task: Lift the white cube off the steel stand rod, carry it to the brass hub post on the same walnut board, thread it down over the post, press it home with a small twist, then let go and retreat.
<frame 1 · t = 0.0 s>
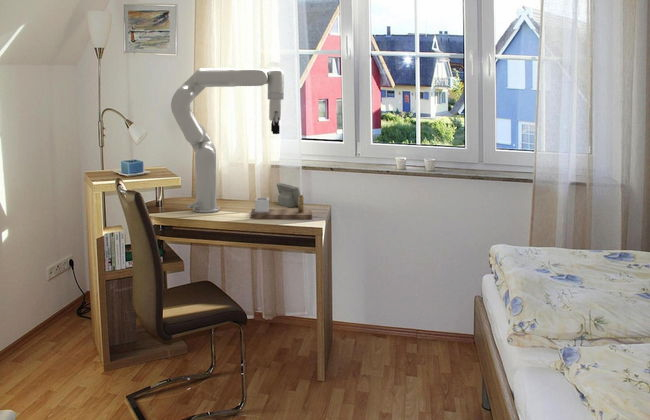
hand: (275, 132, 354), 37 cm above the table, tool pointing down, fingers open, 9 cm apart
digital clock: (289, 205, 374), on the table
white cube: (262, 211, 348), point 2 cm above the table, touching board
board: (281, 215, 349), on the table
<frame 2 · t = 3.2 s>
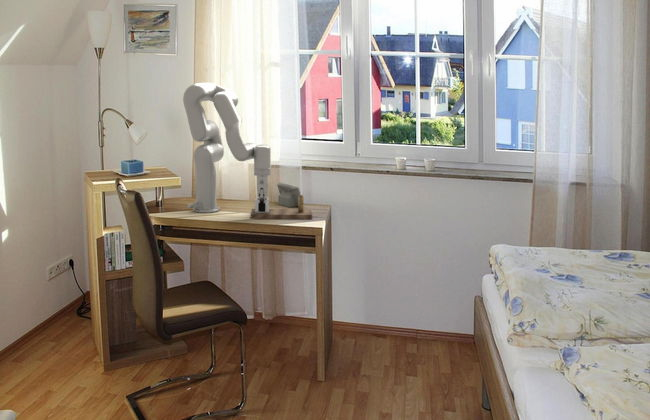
hand: (262, 209, 348), 3 cm above the table, tool pointing down, fingers closed on white cube, 6 cm apart
white cube: (262, 211, 348), point 2 cm above the table, touching board, gripper
everything else where it was.
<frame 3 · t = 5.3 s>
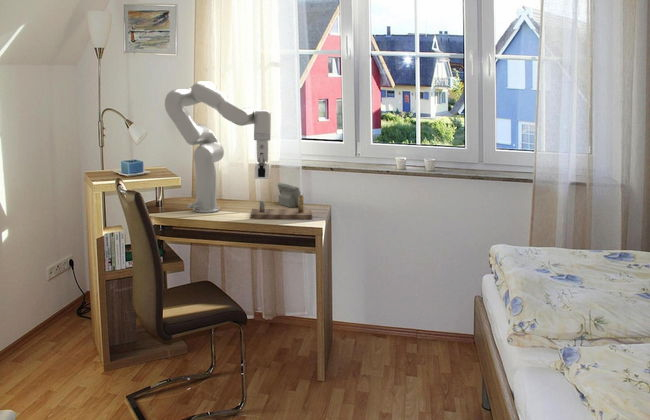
hand: (261, 175, 345), 19 cm above the table, tool pointing down, fingers closed on white cube, 6 cm apart
white cube: (261, 177, 345), point 18 cm above the table, touching gripper
everything else where it was.
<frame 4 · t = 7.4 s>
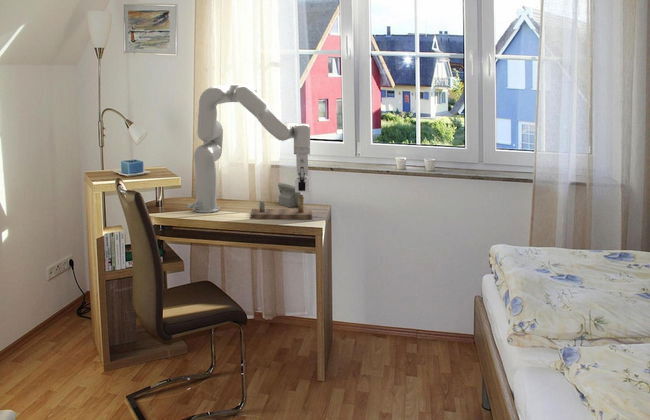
hand: (301, 188, 347), 13 cm above the table, tool pointing down, fingers closed on white cube, 6 cm apart
white cube: (301, 191, 347), point 12 cm above the table, touching gripper
everything else where it was.
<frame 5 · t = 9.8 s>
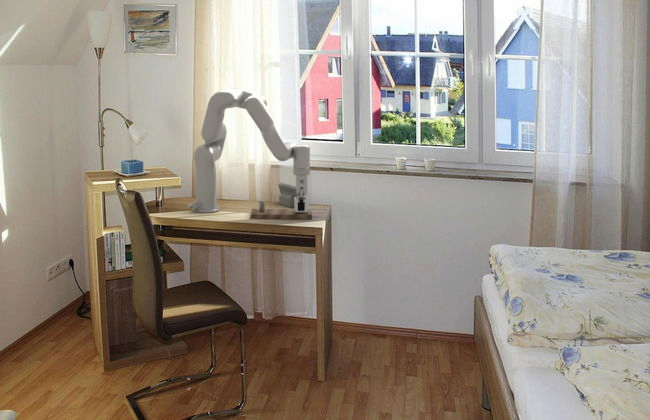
hand: (301, 208, 349), 4 cm above the table, tool pointing down, fingers closed on white cube, 6 cm apart
white cube: (301, 210, 349), point 3 cm above the table, touching gripper
everything else where it was.
when the fingers open (3 cm above the table, at t = 11.6 s): white cube stays where it is, resting on board.
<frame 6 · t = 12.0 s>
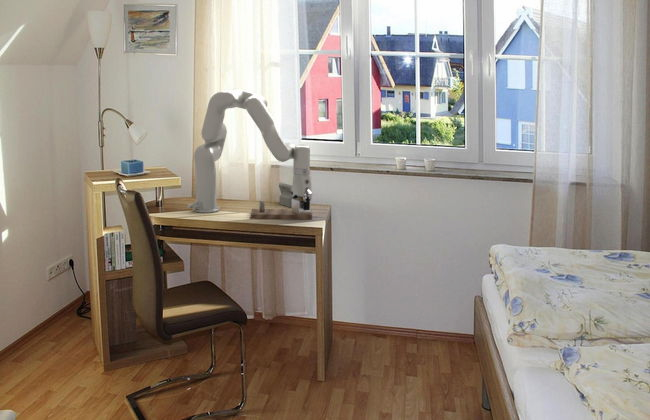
hand: (300, 208, 349), 4 cm above the table, tool pointing down, fingers open, 9 cm apart
white cube: (300, 211, 349), point 2 cm above the table, touching board
everything else where it was.
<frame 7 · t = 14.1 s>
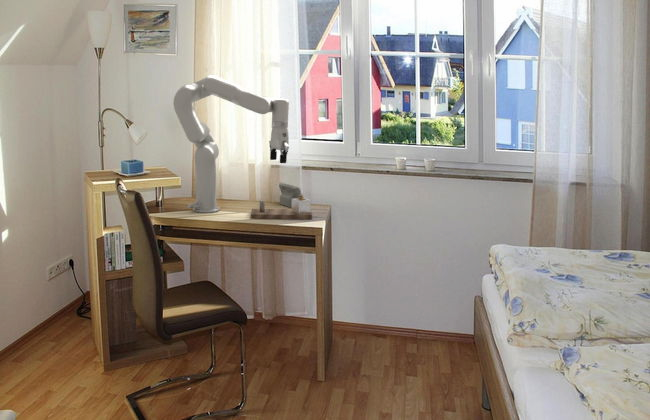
hand: (278, 161, 352), 24 cm above the table, tool pointing down, fingers open, 9 cm apart
nothing on the table moved.
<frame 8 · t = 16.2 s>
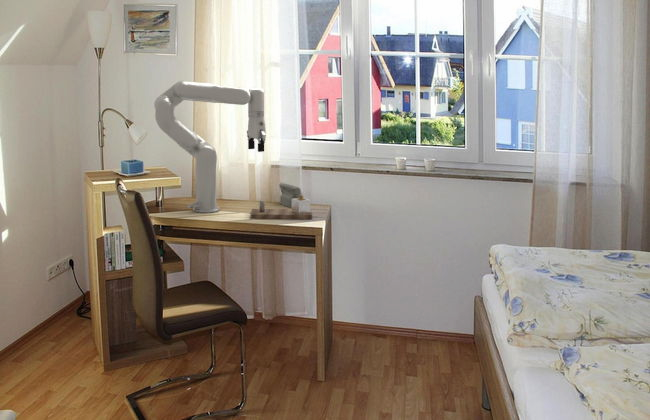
hand: (256, 150, 359), 28 cm above the table, tool pointing down, fingers open, 9 cm apart
at the end: white cube 0.0 cm from the target spot, point 2.0 cm above the table; white cube tilted 0°; the gripper is holding nothing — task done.
